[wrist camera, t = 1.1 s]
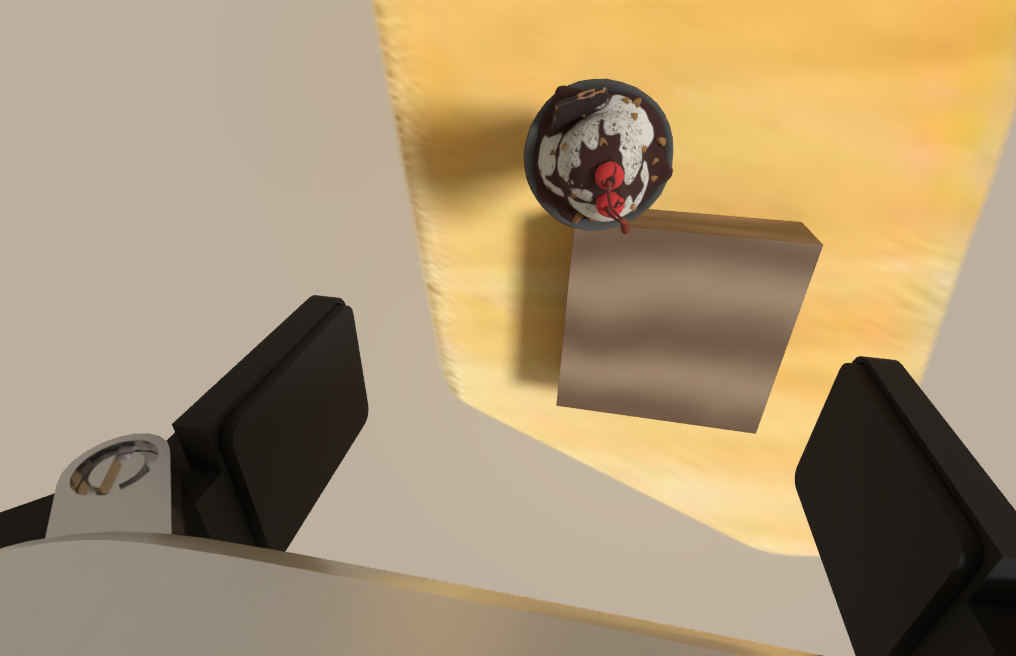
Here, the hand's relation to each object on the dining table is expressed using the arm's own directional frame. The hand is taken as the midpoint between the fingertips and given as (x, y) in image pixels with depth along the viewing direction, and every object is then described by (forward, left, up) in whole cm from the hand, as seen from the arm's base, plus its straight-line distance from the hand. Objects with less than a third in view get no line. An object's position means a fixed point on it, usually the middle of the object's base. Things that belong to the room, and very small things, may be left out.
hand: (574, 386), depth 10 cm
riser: (+11, +6, -26) cm, 29 cm away
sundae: (-1, 0, -26) cm, 26 cm away
